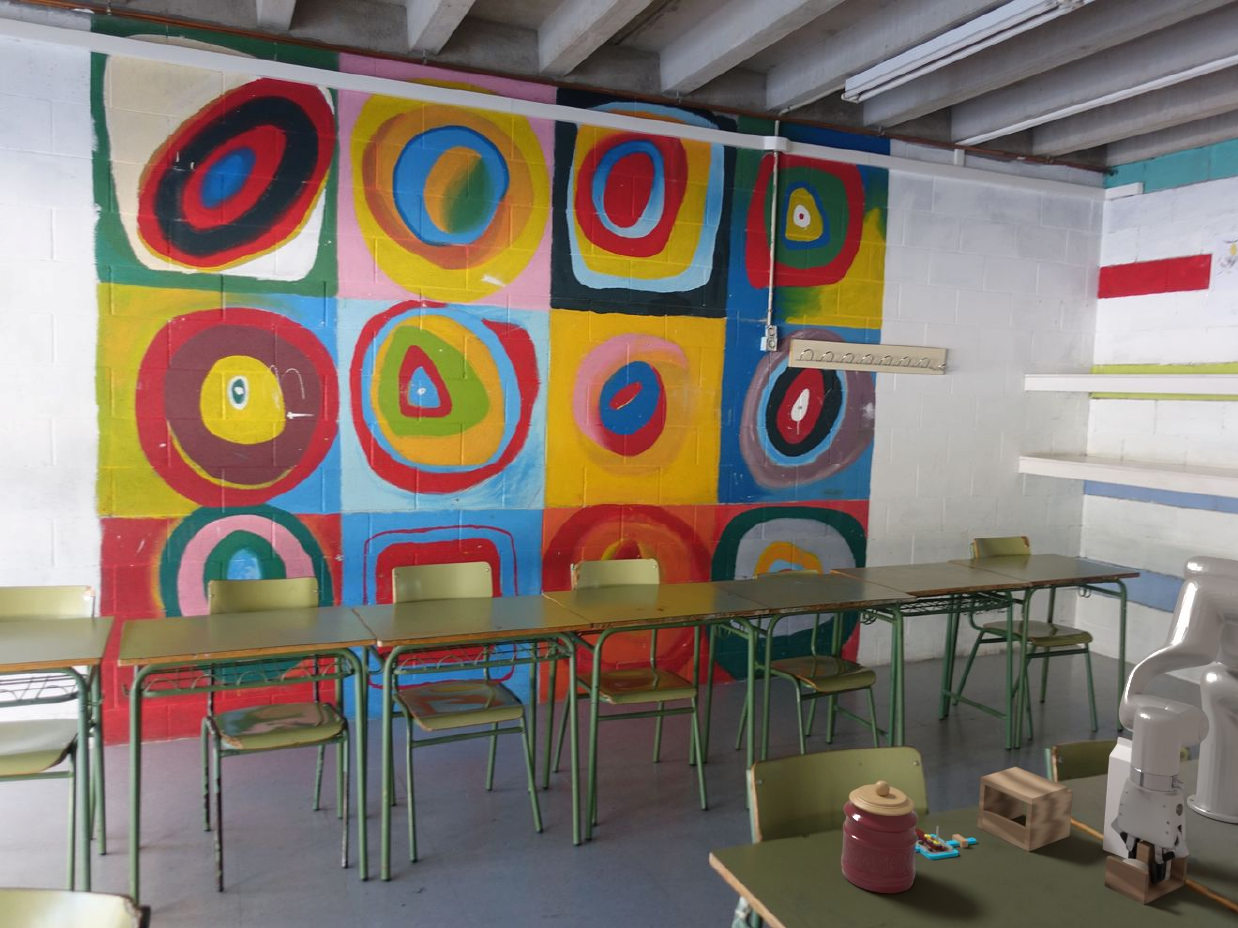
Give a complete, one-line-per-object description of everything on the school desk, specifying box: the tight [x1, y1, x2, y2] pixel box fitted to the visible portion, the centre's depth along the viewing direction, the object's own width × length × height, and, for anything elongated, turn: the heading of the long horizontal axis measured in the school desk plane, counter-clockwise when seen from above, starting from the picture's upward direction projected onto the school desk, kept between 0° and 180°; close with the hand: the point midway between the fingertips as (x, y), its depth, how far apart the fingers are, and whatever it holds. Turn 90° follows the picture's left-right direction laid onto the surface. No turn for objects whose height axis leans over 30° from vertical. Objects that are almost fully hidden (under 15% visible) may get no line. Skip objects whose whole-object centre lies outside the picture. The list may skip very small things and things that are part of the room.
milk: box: [1102, 736, 1143, 859], centre depth 181 cm, size 6×6×22 cm
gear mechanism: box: [915, 825, 978, 861], centre depth 181 cm, size 20×5×9 cm
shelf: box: [977, 766, 1074, 852], centre depth 189 cm, size 14×12×10 cm
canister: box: [840, 780, 919, 894], centre depth 168 cm, size 13×13×18 cm
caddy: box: [1104, 840, 1189, 905], centre depth 169 cm, size 14×7×8 cm, turn 122°
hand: (1145, 875), depth 169 cm, fingers open, 3 cm apart
